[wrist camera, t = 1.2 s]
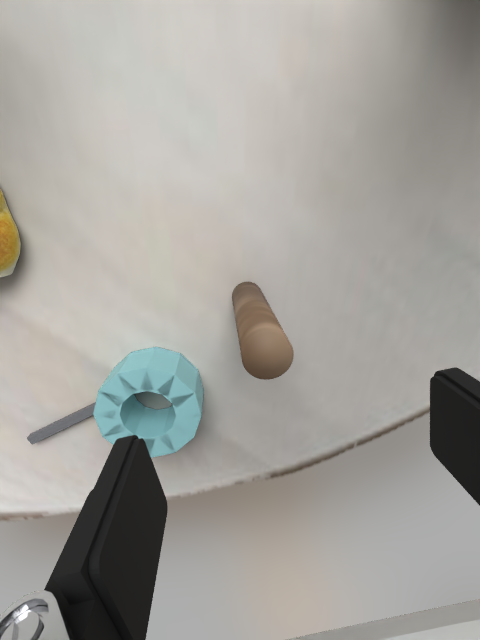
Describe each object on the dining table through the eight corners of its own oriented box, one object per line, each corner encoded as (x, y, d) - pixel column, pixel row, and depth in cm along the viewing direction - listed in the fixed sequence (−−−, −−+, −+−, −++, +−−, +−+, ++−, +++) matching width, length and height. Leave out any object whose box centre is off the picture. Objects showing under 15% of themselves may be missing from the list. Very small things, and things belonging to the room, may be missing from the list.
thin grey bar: (106, 396, 29) (104, 400, 29) (111, 403, 29) (109, 407, 29) (30, 434, 30) (26, 438, 29) (35, 440, 30) (32, 444, 30)
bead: (189, 339, 28) (185, 359, 24) (210, 416, 31) (209, 445, 27) (98, 359, 28) (79, 381, 24) (127, 434, 31) (114, 465, 27)
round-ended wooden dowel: (259, 279, 26) (289, 327, 15) (264, 307, 27) (296, 373, 16) (229, 285, 26) (237, 338, 15) (235, 313, 27) (247, 383, 16)
